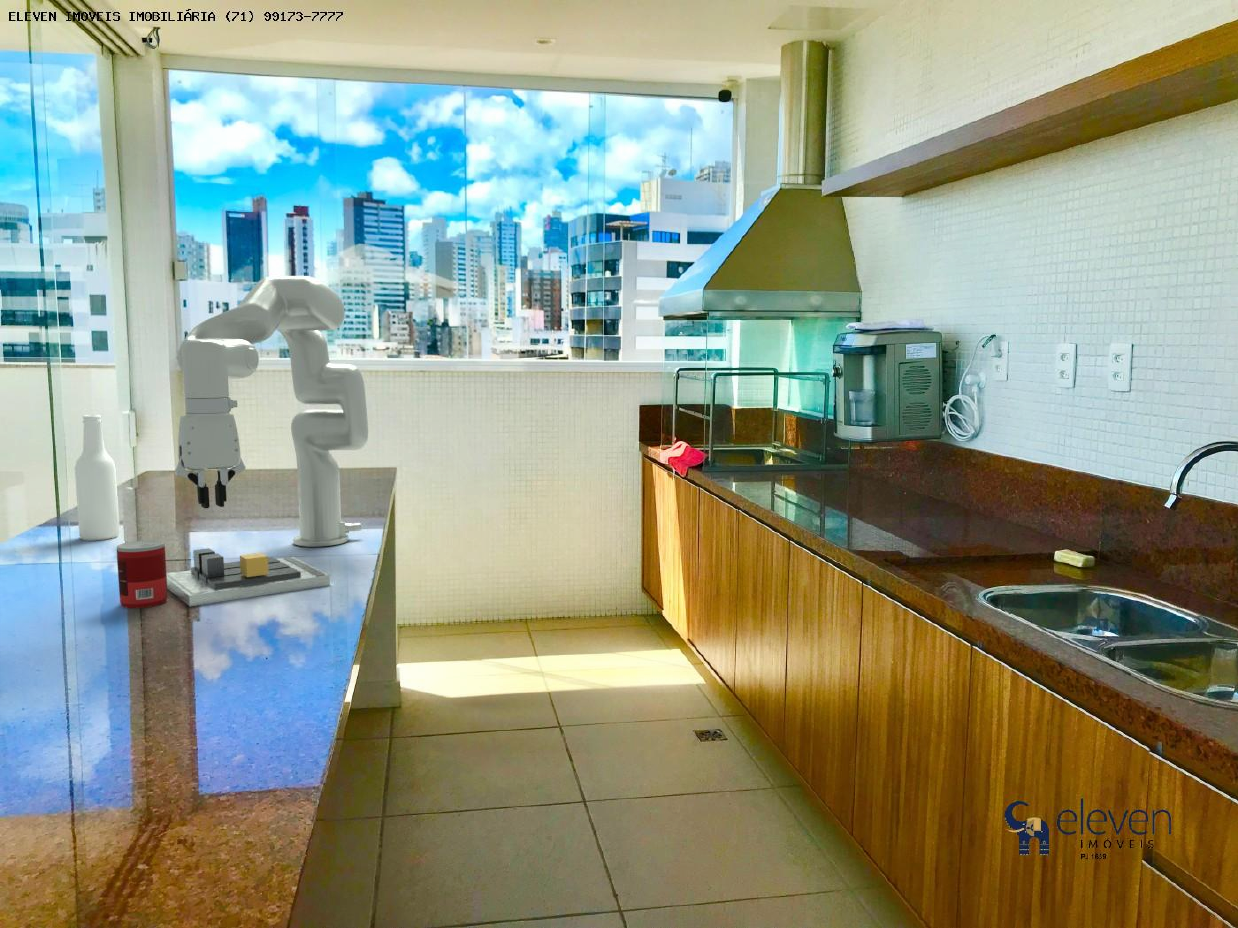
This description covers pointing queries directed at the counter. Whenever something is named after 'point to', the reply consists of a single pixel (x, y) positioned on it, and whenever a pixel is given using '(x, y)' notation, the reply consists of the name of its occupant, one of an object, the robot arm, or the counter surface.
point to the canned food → (142, 573)
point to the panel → (240, 579)
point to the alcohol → (96, 486)
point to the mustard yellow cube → (254, 564)
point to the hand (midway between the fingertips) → (212, 506)
